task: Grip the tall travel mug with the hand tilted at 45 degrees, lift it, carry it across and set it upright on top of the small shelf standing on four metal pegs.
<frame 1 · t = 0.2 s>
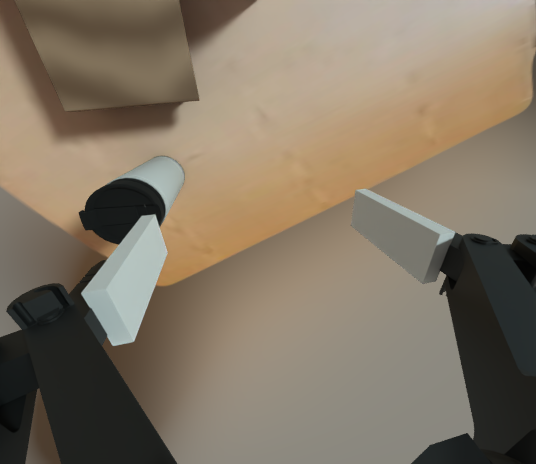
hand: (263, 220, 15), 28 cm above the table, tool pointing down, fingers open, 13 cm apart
peg shelf: (126, 40, 29), on the table
travel mug: (164, 174, 38), on the table
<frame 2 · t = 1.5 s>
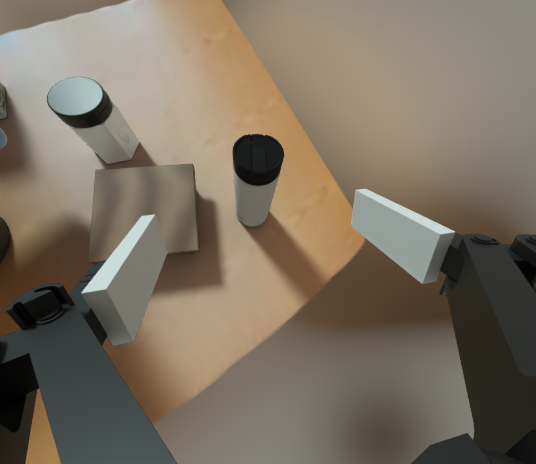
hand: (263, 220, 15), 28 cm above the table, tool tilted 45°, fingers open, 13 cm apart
peg shelf: (158, 221, 42), on the table
jar: (117, 147, 46), on the table
travel mug: (252, 214, 45), on the table
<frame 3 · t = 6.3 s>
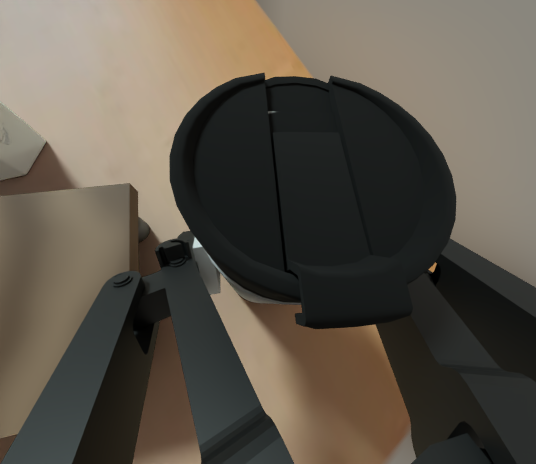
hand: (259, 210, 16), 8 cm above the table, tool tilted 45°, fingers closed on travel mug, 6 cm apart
peg shelf: (69, 300, 21), on the table
jar: (3, 152, 24), on the table
travel mug: (259, 273, 23), on the table, touching gripper
when the fingers open (16 cm above the table, at t = 11.0 s): travel mug drops 1 cm, resting on peg shelf.
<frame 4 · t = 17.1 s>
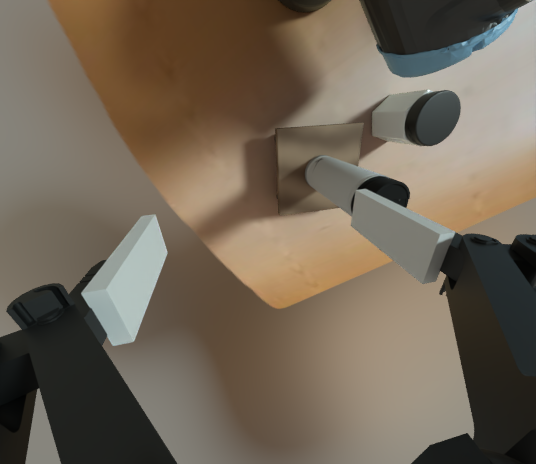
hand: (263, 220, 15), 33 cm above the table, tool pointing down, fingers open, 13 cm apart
peg shelf: (308, 166, 47), on the table
jar: (387, 119, 46), on the table
travel mug: (318, 171, 42), point 6 cm above the table, touching peg shelf
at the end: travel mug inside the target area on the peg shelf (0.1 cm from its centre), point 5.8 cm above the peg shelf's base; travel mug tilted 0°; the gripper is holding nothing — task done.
